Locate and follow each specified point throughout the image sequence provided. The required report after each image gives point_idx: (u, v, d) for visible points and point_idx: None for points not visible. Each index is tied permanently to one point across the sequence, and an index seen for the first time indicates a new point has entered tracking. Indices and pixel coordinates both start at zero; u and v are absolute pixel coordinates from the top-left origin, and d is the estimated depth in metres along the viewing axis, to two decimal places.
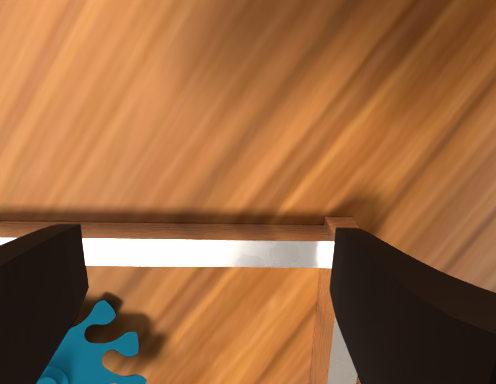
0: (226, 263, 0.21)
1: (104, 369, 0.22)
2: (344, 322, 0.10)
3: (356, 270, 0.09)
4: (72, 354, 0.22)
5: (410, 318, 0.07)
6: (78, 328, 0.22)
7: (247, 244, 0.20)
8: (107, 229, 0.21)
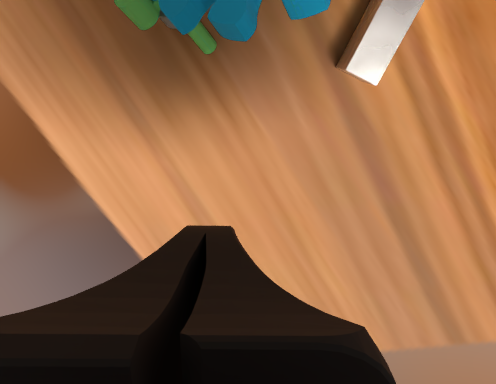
0: None
1: None
2: None
3: None
4: None
5: None
6: None
7: None
8: None
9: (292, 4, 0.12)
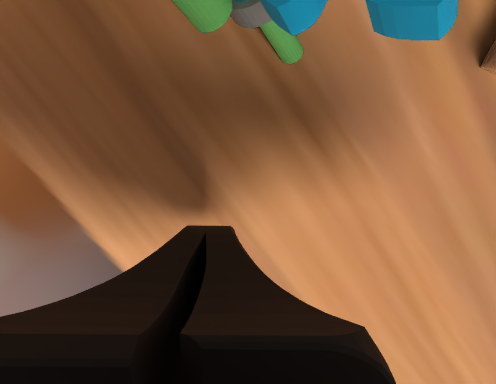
0: None
1: None
2: None
3: None
4: None
5: None
6: None
7: None
8: None
9: None
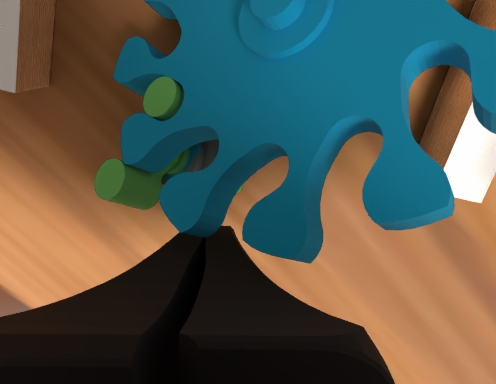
0: None
1: None
2: None
3: None
4: None
5: None
6: None
7: None
8: None
9: (392, 224, 0.07)
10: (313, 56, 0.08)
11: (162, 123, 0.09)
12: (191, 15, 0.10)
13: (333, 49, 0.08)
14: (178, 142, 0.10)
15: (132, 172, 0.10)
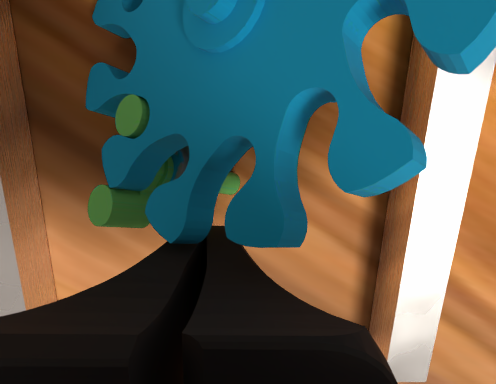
0: None
1: None
2: None
3: None
4: None
5: None
6: None
7: None
8: None
9: (364, 190, 0.06)
10: (258, 39, 0.08)
11: (136, 140, 0.10)
12: (142, 28, 0.10)
13: (275, 28, 0.07)
14: (155, 155, 0.10)
15: (119, 194, 0.10)
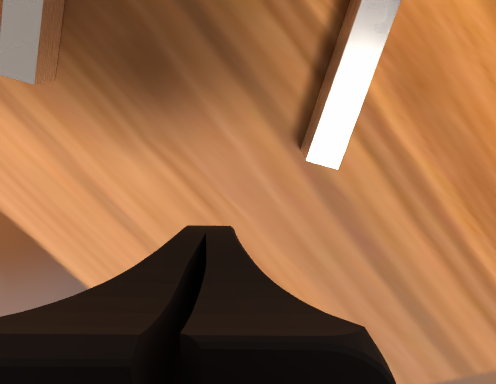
0: None
1: None
2: None
3: None
4: None
5: None
6: None
7: None
8: None
9: None
10: None
11: None
12: None
13: None
14: None
15: None
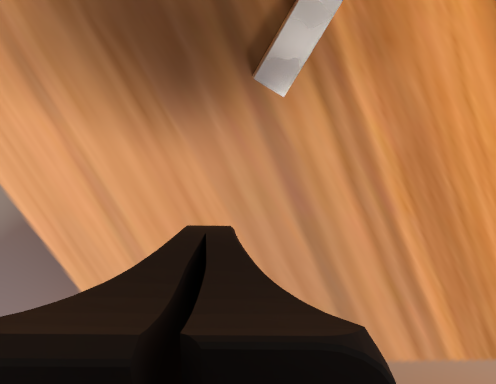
0: None
1: None
2: None
3: None
4: None
5: None
6: None
7: None
8: None
9: None
10: None
11: None
12: None
13: None
14: None
15: None
